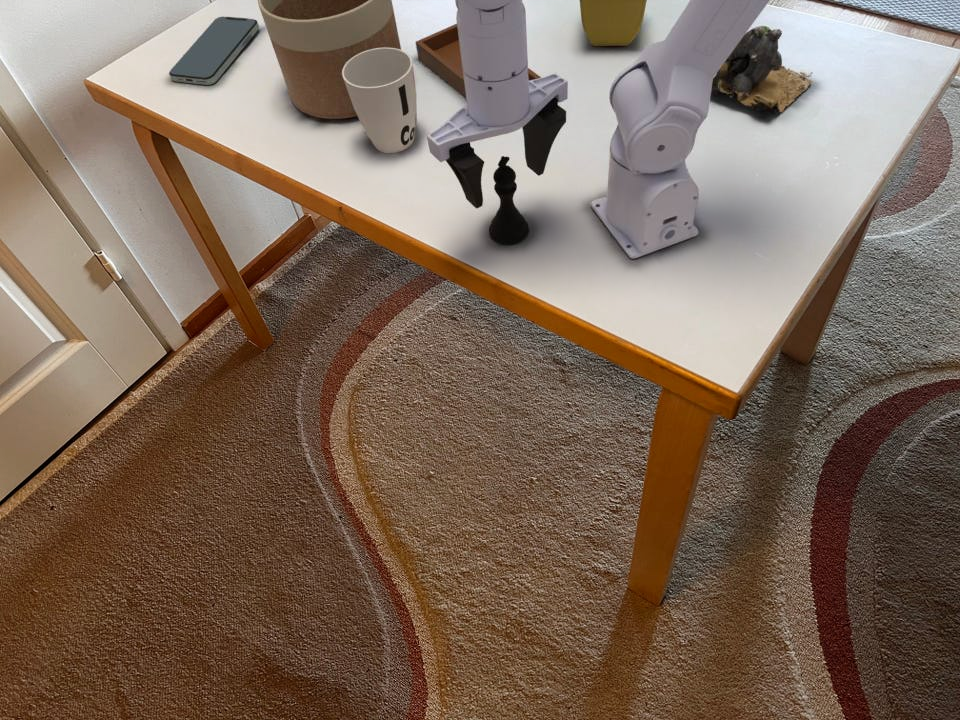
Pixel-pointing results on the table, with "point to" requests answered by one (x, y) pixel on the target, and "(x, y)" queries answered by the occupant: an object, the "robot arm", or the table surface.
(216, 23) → the smartphone
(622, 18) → the flower pot
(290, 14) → the planter
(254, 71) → the table surface
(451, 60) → the brown rectangular tray
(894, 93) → the table surface
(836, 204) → the table surface
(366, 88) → the cup
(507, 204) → the chess piece
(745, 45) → the figurine
